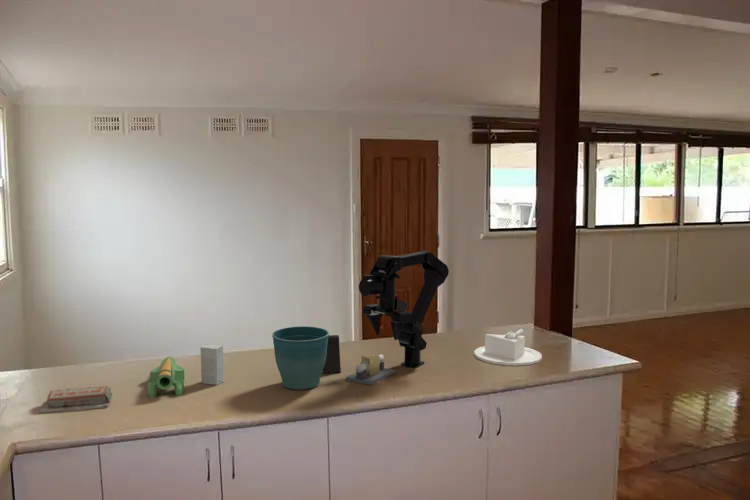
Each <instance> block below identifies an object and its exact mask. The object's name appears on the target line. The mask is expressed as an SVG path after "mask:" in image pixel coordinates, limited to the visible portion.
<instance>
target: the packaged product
mask: <svg viewBox="0 0 750 500" xmlns="http://www.w3.org/2000/svg"><path fill="white" fill-rule="evenodd" d="M111 388H112V387H111V386H93V387H91V386H90V387H88V386H86V387H75V388H61V389H60V388H59V389H51V390H50V391H49V393H48V395H47V399H46V401H45V402H44V404H43V405H42V407H41V408H40V409H39V414H46V413H55V412H56V413H59V412H71V411H73V412H74V411H84V410H93V409H94V410H95V409H107V408H108V407H109V405H110V403H111V401H112V399H113V397H114V395H113V392H111V391H112V390H111Z"/></svg>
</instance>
